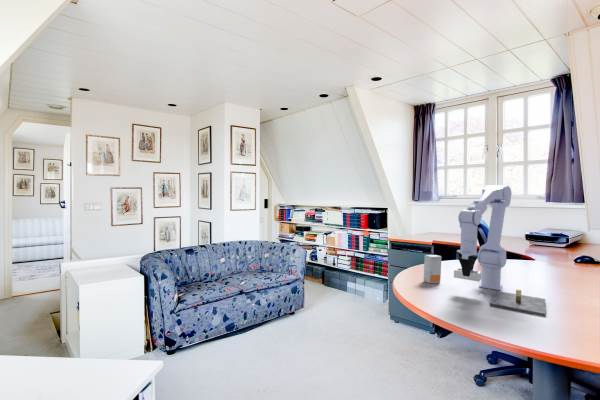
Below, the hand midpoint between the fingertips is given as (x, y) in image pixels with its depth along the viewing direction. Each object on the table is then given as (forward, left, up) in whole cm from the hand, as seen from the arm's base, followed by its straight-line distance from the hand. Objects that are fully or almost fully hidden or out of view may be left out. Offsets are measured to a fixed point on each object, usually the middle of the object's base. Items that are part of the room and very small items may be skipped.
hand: (467, 274), depth 131 cm
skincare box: (-11, -16, -8) cm, 21 cm away
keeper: (-1, +17, -8) cm, 19 cm away
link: (0, 0, -1) cm, 1 cm away
